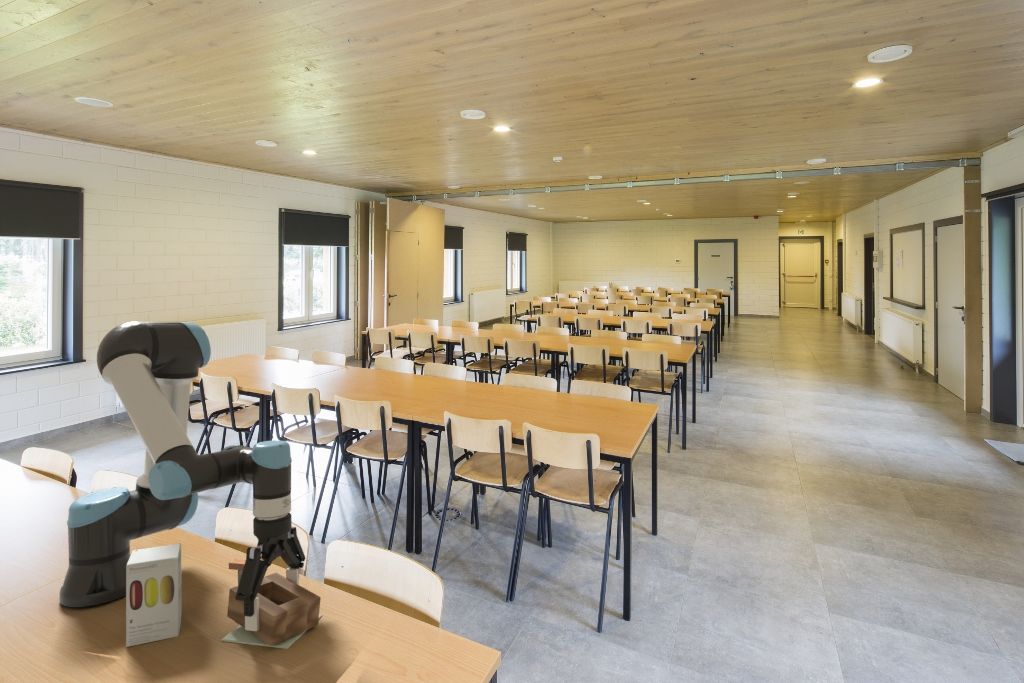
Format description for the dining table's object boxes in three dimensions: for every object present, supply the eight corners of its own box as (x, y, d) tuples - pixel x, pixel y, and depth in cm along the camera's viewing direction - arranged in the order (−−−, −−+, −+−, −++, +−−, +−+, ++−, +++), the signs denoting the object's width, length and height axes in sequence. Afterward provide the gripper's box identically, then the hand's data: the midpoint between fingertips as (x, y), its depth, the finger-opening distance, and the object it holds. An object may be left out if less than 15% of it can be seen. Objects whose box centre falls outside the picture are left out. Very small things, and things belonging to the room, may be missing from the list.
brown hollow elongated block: (271, 646, 110) (273, 616, 110) (227, 616, 119) (229, 588, 118) (318, 624, 119) (320, 597, 119) (273, 598, 128) (276, 572, 128)
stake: (226, 607, 128) (225, 564, 128) (238, 599, 132) (237, 557, 132) (253, 610, 127) (252, 566, 127) (264, 602, 131) (263, 559, 131)
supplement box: (124, 648, 112) (123, 565, 111) (131, 627, 120) (130, 549, 120) (180, 636, 116) (179, 556, 116) (182, 616, 124) (181, 541, 124)
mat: (221, 641, 114) (221, 639, 114) (262, 610, 127) (262, 608, 127) (287, 648, 111) (287, 646, 111) (322, 616, 124) (322, 614, 124)
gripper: (248, 537, 106) (250, 647, 106) (320, 498, 130) (321, 587, 130) (214, 534, 107) (215, 642, 107) (291, 496, 132) (292, 585, 132)
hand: (273, 613), depth 119 cm, fingers closed on brown hollow elongated block, 13 cm apart
